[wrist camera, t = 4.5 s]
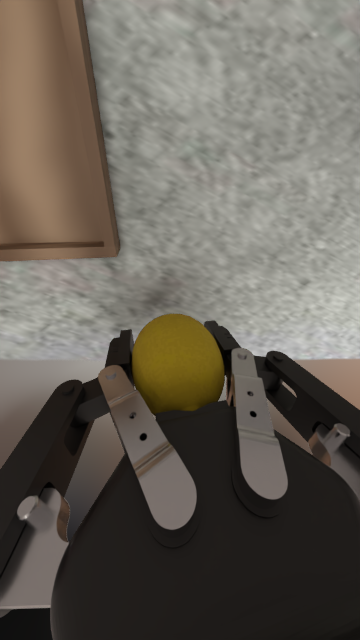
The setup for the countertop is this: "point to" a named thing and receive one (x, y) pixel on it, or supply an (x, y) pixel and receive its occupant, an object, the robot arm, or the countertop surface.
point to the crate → (51, 137)
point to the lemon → (177, 364)
